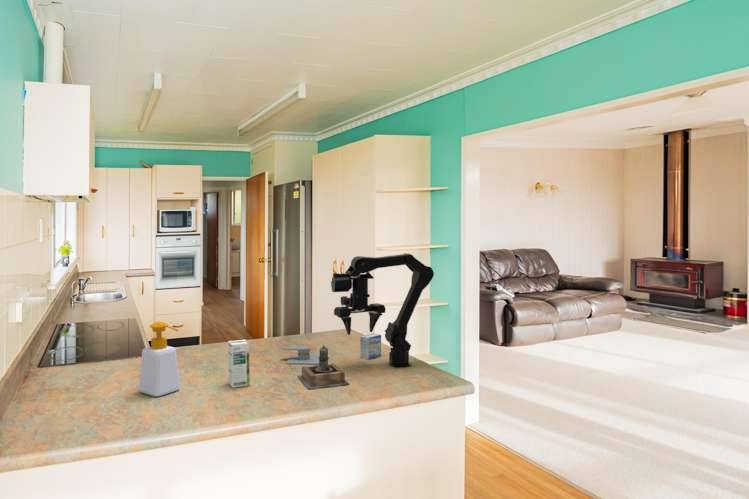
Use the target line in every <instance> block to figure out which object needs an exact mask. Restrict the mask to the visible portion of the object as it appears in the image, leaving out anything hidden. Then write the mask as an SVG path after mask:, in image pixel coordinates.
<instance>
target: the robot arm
mask: <svg viewBox="0 0 749 499" xmlns="http://www.w3.org/2000/svg"><path fill="white" fill-rule="evenodd" d="M404 265H405V266H406V268H408V269H409V270H410V271H411V272H412V275H411V284H410V287H409V289H408V292H407V294H406V296H405V299H404V301H403V304H402V305H401V308H400V310H399V313H398V315H397V317H396V319H394V321H393V322H391V321H389V322H388V324H387V326H386V329H385V330H384V332H385V334H384V338H385V341H387V343H389V345H390V347H391V348H390V352H389V356H388V358H389V359H388V360H389V361H388V364H390V365H391V366H393V367H394V368H400V367H401V368H402V367H409V366H411V365H412V364H411V363H410V362H409V360H410V358H409V357H410V350H411V348H412V345H411V344H410V343H409V341H408V340H407V339H406V338H407V335H408V324H409V322H410V320H411V317H412V315H413V313H414V310H415V308H416V306H417V304H418V302H419V299H420V298H421V295H422V292H423V291H424V290H425V289H426V288H427V287H428V286H429V285H430V283H431V282H432V279H433V278H434V275H435V273H434V270H433V269H432V267H431V266H428V265H425V264H424V263H422V262H421V261H419V259H417V257H415V256H414V255H413V254H411V253H403V254H394V255H385V256H378V257H377V256H376V257H374V256H373V257H372V256H371V257H370V256H362V255H360V256H359V255H357V256H354V257H353V258H352V260H350V265H349V267H348V268H347V270H345V272H343V273H338V272H334V273H332V276H331V281H330V287H331V292H332V293H346V292H347V293H348V292H350V290H352V291H351V292H352V293H350V294H349V297H348V296H347V295H346V296H345V295H344V296H341V297H340V305H341V306H336V307H335V308H334V310H333V315H334V316H336V317H337V318H340V320H341V321H342V322H343V325H344V328H345V330H346V333H347V335H348V336H350V335H351V332H352V317H351V314H358V313H359V314H360V313H361V314H362V313H367V314H368V316H369V326H368V328H369V332H370V333H373V332H374V328H375V326H376V324H377V322H378V321H379V319H380V318H381V316H383V314H385V313H386V306H385V304H382V303H379V302H375V303H370V304H369V298H371V297H370V295H371V294H370V293H369V280H371V279H373V280H374V276H373V275H372V274H371V273H370V272H372V271H374V270H376V269H381V268H388V267H397V266H404Z"/></svg>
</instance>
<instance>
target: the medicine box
mask: <svg viewBox="0 0 749 499" xmlns="http://www.w3.org/2000/svg"><path fill="white" fill-rule="evenodd" d="M359 337H360V339H359V341H360V342H359V343H360V345H359V346H360V348H359V349H360V350H359V357H360V358H361V359H364V358H365V360H372V359H375V358H378V357H380V356H382V334H380V333H375V332H374V333H373V332H372V333H370V334H366V335H361V336H359ZM371 358H372V359H371Z"/></svg>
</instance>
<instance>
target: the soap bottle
mask: <svg viewBox="0 0 749 499" xmlns="http://www.w3.org/2000/svg"><path fill="white" fill-rule="evenodd" d="M149 328H151V330H152V332H153V333H155V334H156V335H155V337H153V338H151V339H150V341H151V343H150V344H151V346H150V347H149V346H148V347H144V348H143V349H142V351H141V360H140V373H139V381H138V382H139V384H138V391H139V392H140V393H142V394H146V395H149V396H152V397H162V396H163V395H166V394H170V393H173V392H176V391H179V390H180V388H181V380H180V379H181V378H180V371H179V363H178V353H177V349H176V347H173V346H170V345H168V339H167V337H165V336H164V337H163V335H162V333H163V332H165V331H166V328H169V329H172V330H173V331H175V332H179V330H178V328H175V327H172V326H170V325H169V324H167V323H166V322H164V321H155V322H153V323H152V324H150V325H149Z"/></svg>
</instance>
